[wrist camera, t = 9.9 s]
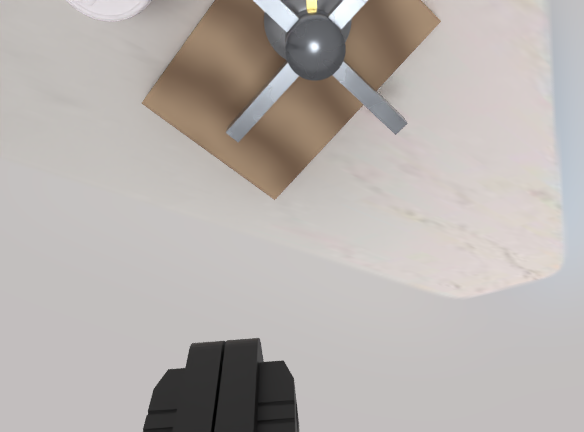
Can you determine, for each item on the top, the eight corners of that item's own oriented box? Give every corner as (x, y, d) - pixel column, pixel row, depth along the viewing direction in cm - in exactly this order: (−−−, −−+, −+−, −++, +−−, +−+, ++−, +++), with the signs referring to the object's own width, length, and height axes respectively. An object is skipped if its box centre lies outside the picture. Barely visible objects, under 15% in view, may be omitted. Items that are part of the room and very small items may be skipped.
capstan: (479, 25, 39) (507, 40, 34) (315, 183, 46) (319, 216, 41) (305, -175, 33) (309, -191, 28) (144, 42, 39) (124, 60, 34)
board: (275, 189, 48) (274, 200, 46) (147, 95, 44) (140, 104, 42) (434, 16, 41) (441, 21, 39) (300, -119, 36) (301, -121, 34)
